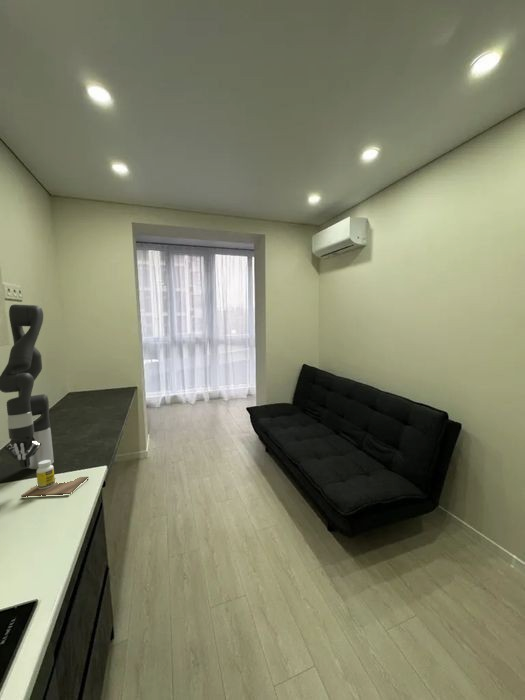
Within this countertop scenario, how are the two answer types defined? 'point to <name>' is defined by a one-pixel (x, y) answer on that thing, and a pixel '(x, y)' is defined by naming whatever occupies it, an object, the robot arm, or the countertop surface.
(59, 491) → the walnut board
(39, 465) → the supplement bottle
